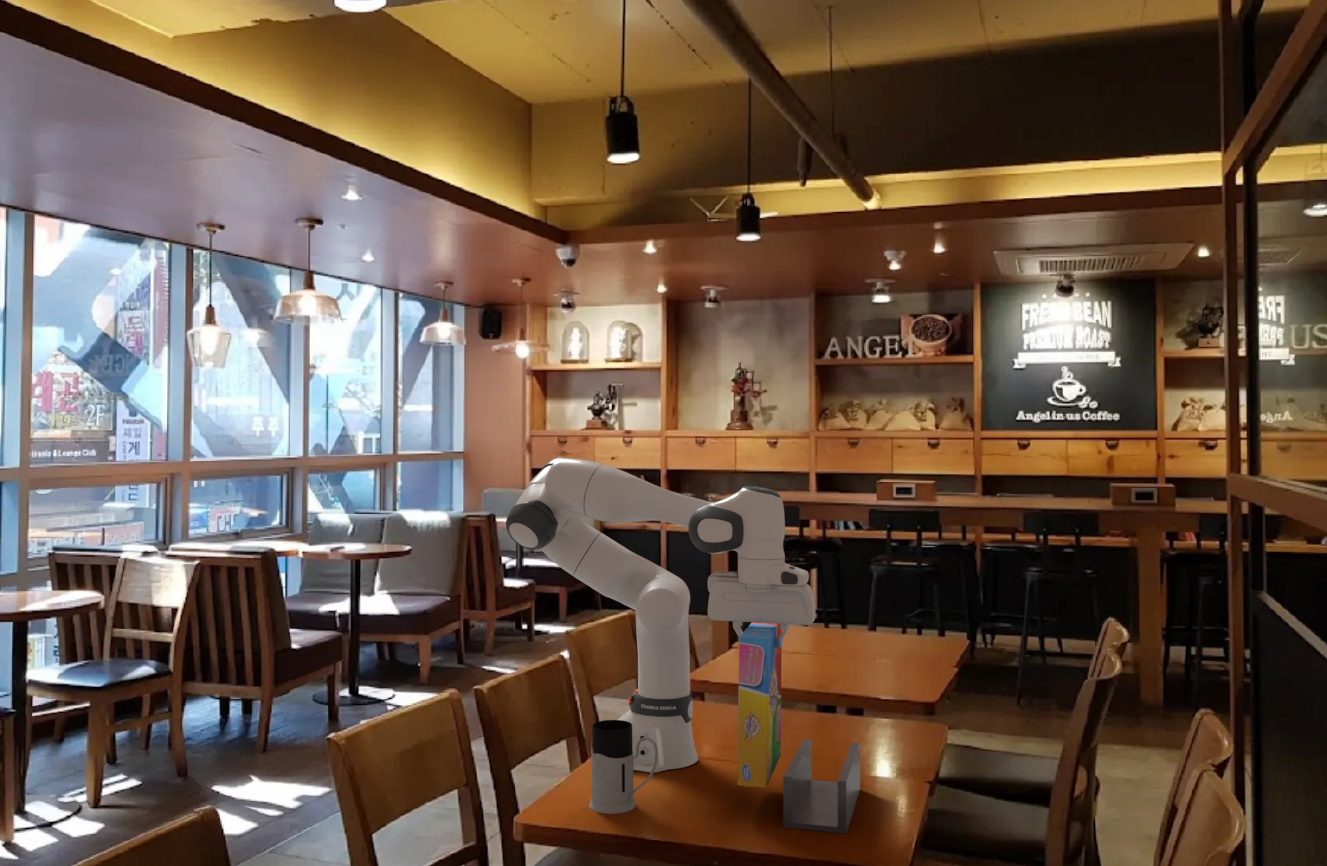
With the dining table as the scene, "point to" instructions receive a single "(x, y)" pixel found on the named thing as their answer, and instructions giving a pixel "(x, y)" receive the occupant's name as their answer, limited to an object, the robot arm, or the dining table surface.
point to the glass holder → (614, 766)
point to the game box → (759, 705)
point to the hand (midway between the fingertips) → (761, 645)
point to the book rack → (820, 793)
